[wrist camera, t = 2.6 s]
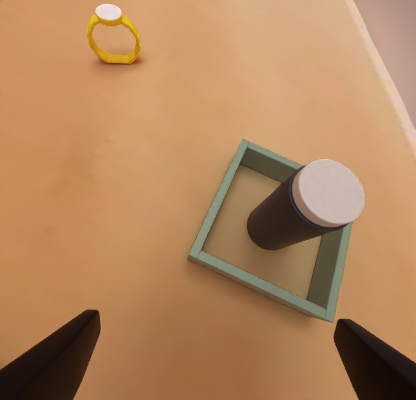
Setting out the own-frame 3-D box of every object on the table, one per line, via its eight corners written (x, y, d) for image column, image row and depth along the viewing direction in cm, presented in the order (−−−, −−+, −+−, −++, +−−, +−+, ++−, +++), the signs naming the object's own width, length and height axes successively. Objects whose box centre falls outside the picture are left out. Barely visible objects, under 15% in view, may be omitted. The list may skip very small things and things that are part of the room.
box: (337, 201, 27) (359, 190, 24) (310, 317, 22) (333, 323, 19) (235, 155, 27) (242, 138, 24) (187, 258, 23) (188, 254, 19)
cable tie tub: (295, 217, 26) (373, 174, 15) (283, 257, 24) (362, 240, 13) (255, 199, 26) (306, 145, 15) (240, 238, 24) (286, 206, 14)
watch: (97, 69, 29) (77, 19, 24) (96, 53, 30) (77, 2, 25) (143, 67, 30) (135, 20, 25) (141, 53, 31) (133, 4, 26)
